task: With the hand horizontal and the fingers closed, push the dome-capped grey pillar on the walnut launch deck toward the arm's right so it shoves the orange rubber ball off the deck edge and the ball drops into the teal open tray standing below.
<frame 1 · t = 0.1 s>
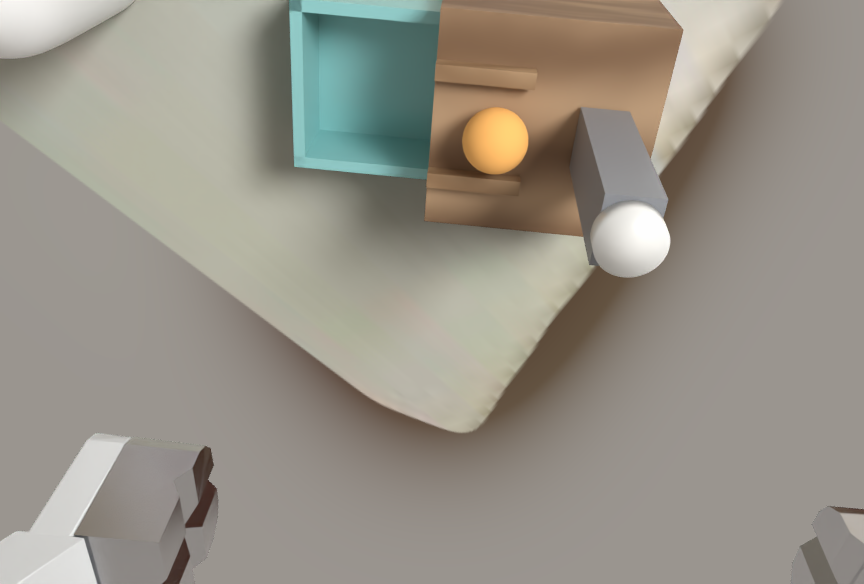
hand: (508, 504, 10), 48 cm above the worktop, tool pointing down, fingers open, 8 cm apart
launch deck: (535, 83, 55), on the worktop
teal open tray: (380, 68, 55), on the worktop
ball: (495, 141, 45), point 12 cm above the worktop, touching launch deck
dome-capped grey pillar: (612, 185, 41), point 17 cm above the worktop, slide at 0.0 cm
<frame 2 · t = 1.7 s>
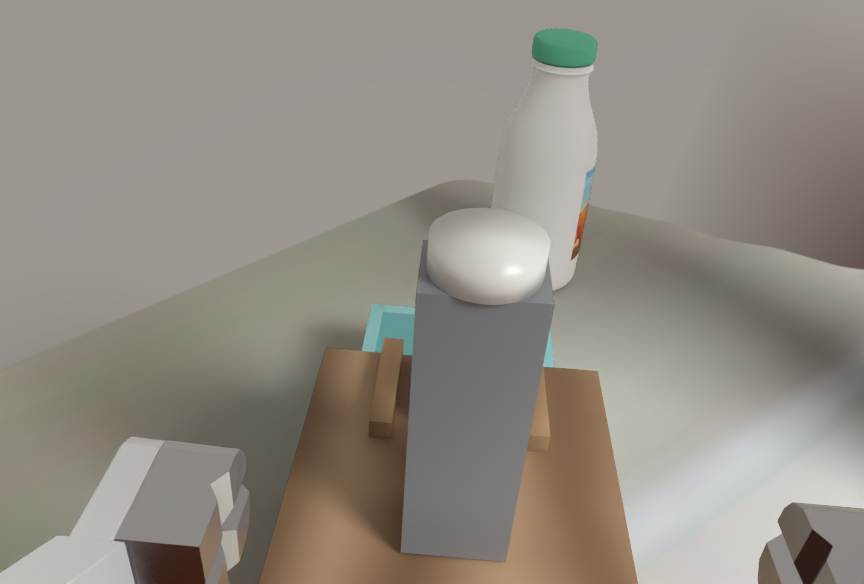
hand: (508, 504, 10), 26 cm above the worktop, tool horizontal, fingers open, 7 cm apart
teal open tray: (450, 435, 48), on the worktop
dome-capped grey pillar: (469, 401, 26), point 17 cm above the worktop, slide at 0.0 cm
milk bottle: (528, 272, 65), on the worktop
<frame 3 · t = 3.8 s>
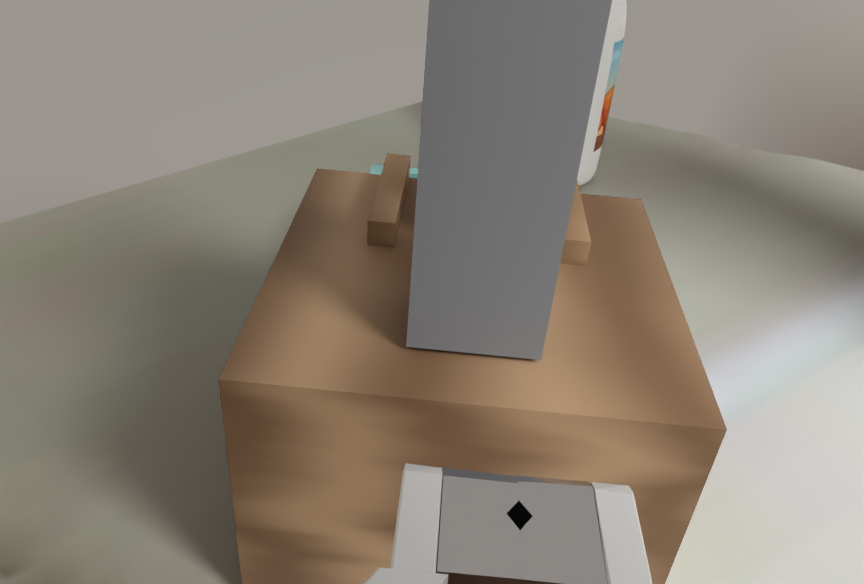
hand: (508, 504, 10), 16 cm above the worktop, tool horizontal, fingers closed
launch deck: (451, 467, 32), on the worktop
dome-capped grey pillar: (500, 121, 20), point 17 cm above the worktop, slide at 0.0 cm
milk bottle: (545, 172, 58), on the worktop
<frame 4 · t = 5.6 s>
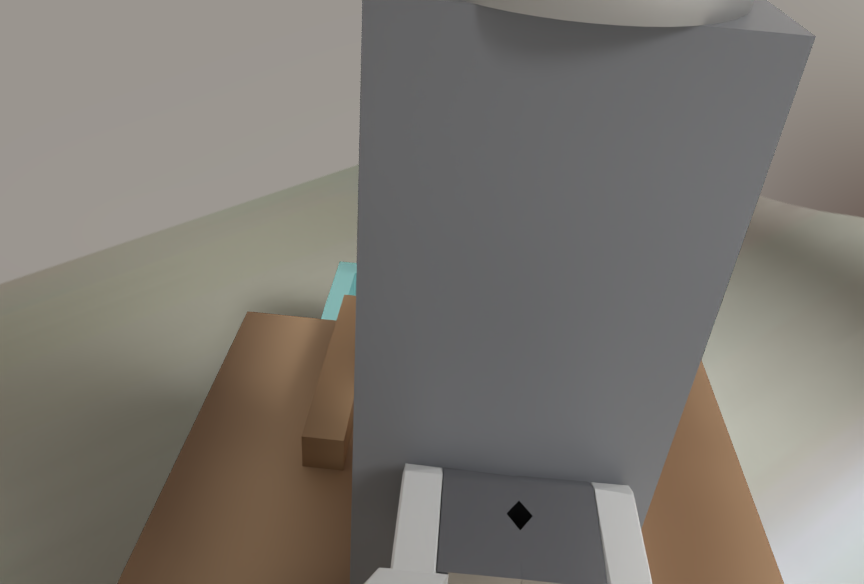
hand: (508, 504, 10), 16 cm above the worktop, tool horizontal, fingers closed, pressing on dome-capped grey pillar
teal open tray: (451, 456, 32), on the worktop
dome-capped grey pillar: (506, 374, 11), point 17 cm above the worktop, slide at 0.5 cm, touching gripper
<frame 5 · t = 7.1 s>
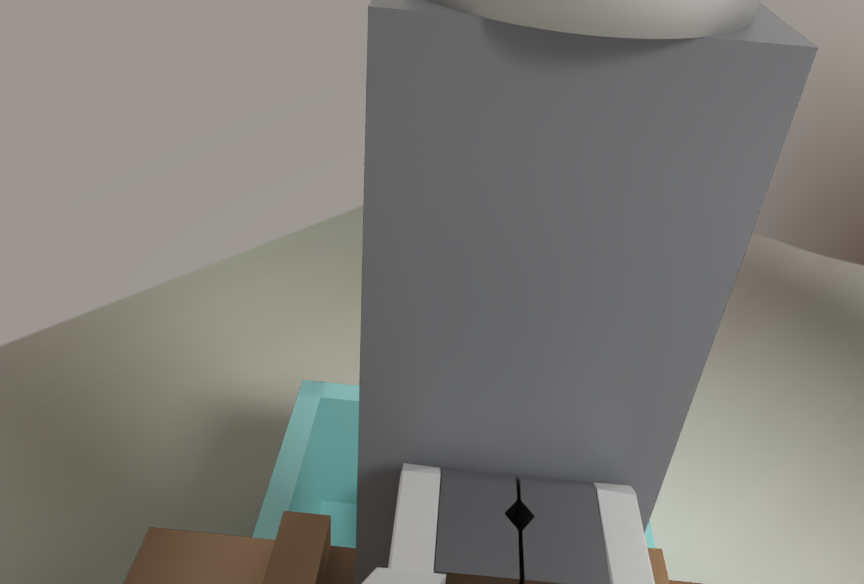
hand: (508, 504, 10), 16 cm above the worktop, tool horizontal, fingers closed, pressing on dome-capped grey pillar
dome-capped grey pillar: (509, 379, 11), point 17 cm above the worktop, slide at 8.6 cm, touching gripper
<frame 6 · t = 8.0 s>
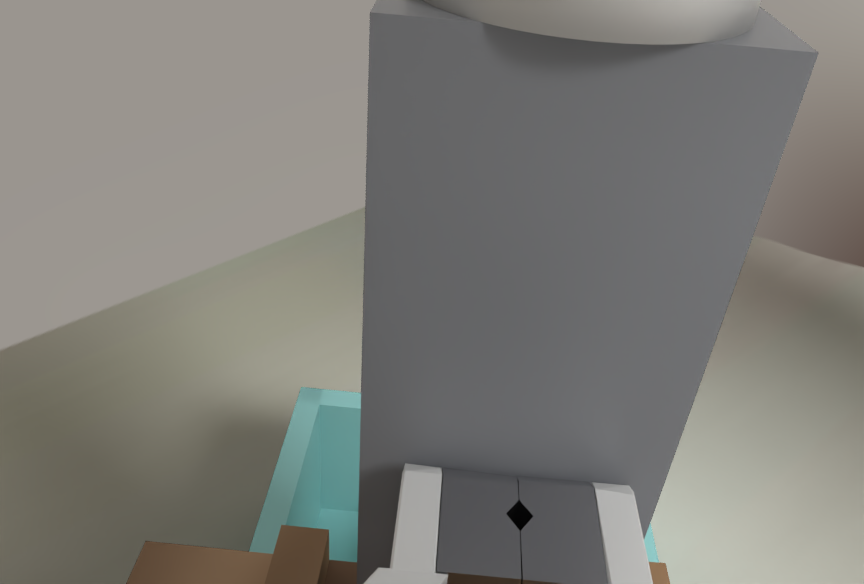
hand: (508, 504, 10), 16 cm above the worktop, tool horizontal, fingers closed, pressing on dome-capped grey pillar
dome-capped grey pillar: (510, 382, 11), point 17 cm above the worktop, slide at 8.9 cm, touching gripper
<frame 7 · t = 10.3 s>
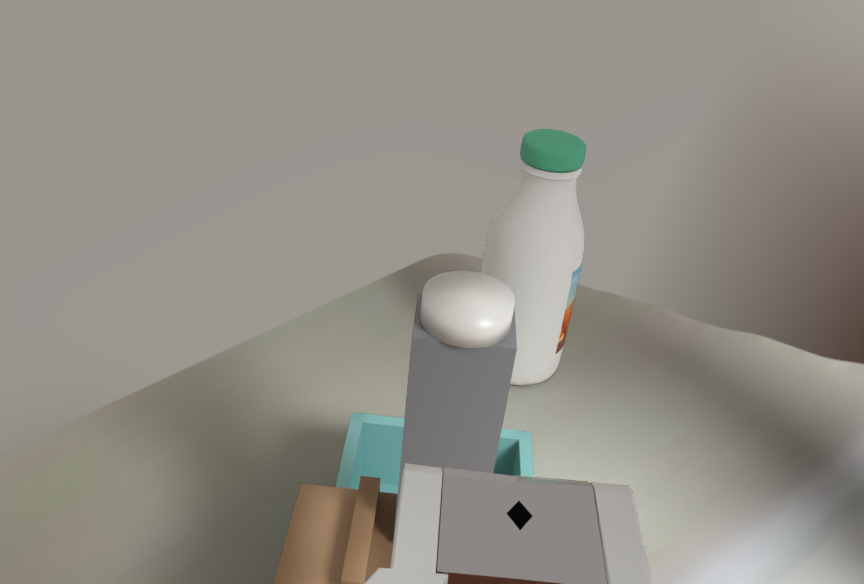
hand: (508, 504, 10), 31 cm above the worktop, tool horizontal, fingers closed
teal open tray: (427, 550, 47), on the worktop
dome-capped grey pillar: (451, 420, 32), point 17 cm above the worktop, slide at 8.9 cm
milk bottle: (513, 360, 64), on the worktop
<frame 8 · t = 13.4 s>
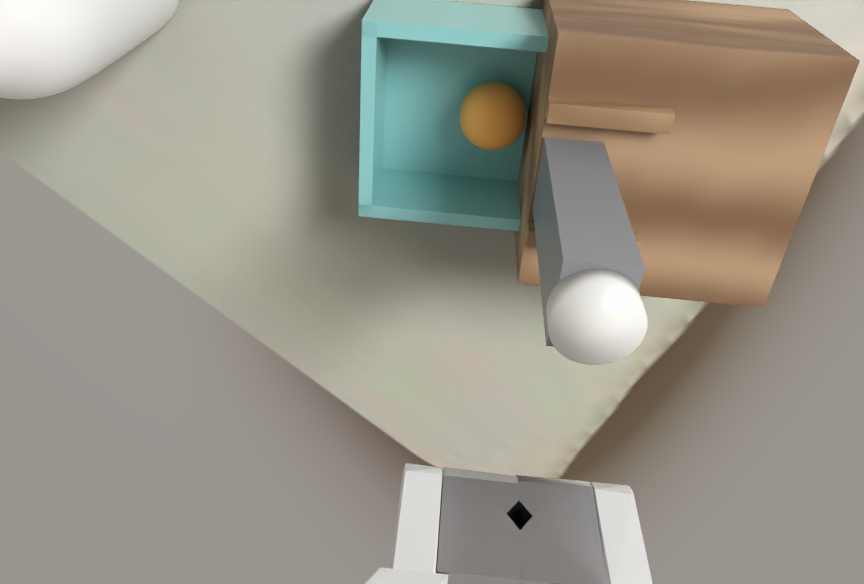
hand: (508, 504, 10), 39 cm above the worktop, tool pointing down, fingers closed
launch deck: (639, 115, 47), on the worktop
teal open tray: (457, 98, 47), on the worktop
ball: (492, 116, 45), point 3 cm above the worktop, tilted 141°, touching teal open tray
dome-capped grey pillar: (579, 238, 33), point 17 cm above the worktop, slide at 8.9 cm
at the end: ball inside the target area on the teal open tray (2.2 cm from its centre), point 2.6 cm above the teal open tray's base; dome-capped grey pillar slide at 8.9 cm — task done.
